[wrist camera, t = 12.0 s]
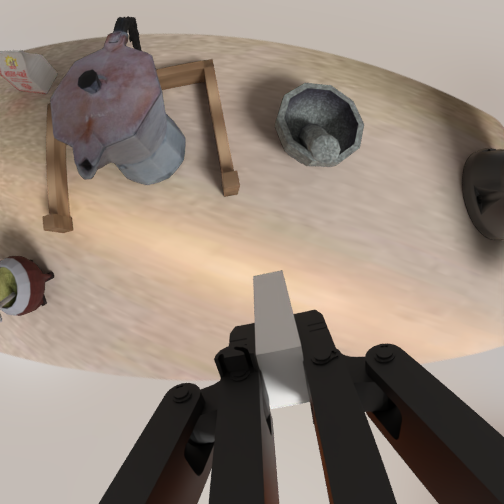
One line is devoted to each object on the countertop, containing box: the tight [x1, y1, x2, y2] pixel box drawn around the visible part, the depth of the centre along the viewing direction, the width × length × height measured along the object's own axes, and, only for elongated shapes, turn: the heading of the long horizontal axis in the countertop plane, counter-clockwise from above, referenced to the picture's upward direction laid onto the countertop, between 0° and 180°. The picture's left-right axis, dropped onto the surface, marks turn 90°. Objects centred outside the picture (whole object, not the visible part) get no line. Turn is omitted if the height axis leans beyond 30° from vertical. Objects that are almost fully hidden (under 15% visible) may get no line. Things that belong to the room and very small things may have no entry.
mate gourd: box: [0, 256, 54, 322], centre depth 27 cm, size 8×8×15 cm
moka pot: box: [50, 17, 185, 185], centre depth 26 cm, size 10×15×20 cm, turn 0°
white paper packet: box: [0, 51, 58, 94], centre depth 29 cm, size 4×7×10 cm, turn 72°
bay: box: [43, 59, 240, 233], centre depth 33 cm, size 17×23×5 cm
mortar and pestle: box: [275, 83, 364, 167], centre depth 32 cm, size 11×9×12 cm
